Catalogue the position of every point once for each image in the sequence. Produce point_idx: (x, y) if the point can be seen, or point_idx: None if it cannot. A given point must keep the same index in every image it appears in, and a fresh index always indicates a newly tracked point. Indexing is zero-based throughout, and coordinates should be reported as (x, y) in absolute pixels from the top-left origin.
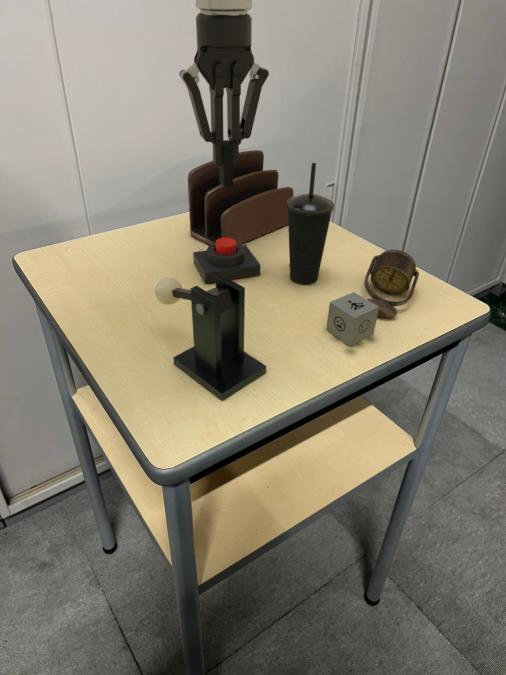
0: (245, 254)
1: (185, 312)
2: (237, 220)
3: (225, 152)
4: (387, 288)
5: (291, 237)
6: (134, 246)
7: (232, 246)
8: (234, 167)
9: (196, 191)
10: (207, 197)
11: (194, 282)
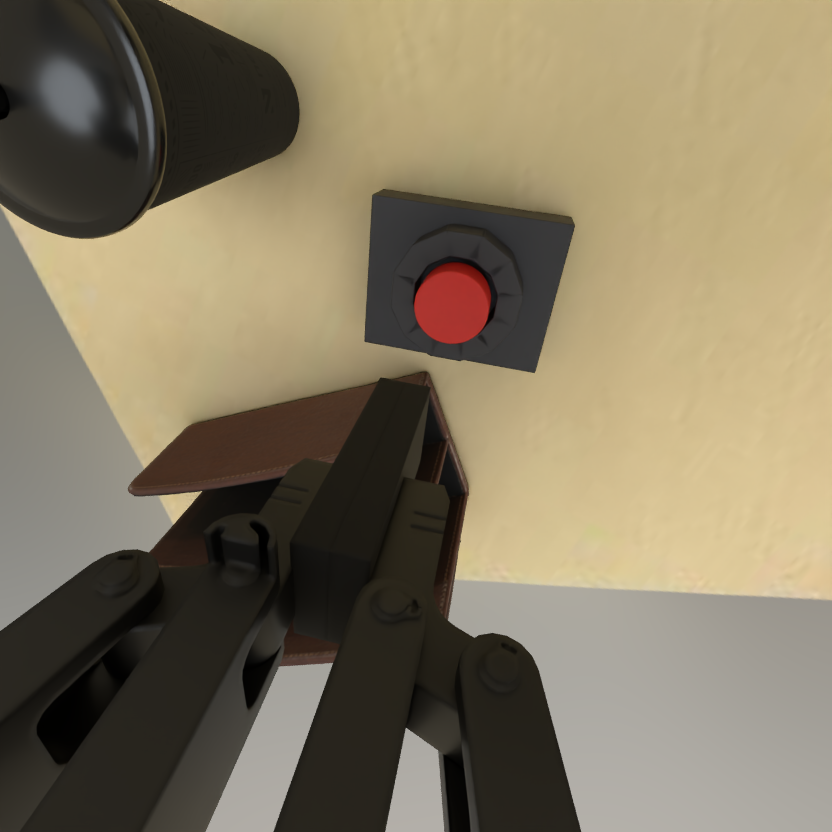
0: (390, 285)
1: (743, 55)
2: (350, 426)
3: (370, 516)
4: None
5: (227, 99)
6: (632, 508)
7: (442, 271)
8: None
9: None
10: None
11: (594, 247)
